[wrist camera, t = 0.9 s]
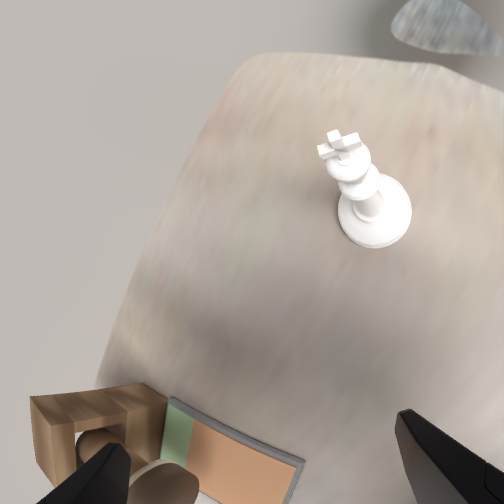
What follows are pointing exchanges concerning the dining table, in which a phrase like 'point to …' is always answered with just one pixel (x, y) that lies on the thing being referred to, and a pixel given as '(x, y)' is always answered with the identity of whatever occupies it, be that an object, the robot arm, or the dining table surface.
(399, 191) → the chess piece
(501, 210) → the dining table surface
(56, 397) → the block
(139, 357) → the dining table surface
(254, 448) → the board
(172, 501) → the peg
